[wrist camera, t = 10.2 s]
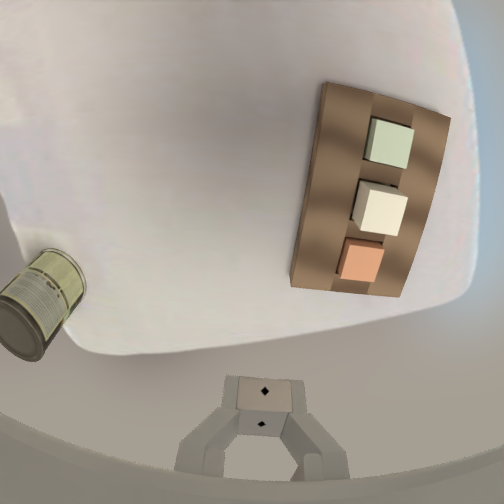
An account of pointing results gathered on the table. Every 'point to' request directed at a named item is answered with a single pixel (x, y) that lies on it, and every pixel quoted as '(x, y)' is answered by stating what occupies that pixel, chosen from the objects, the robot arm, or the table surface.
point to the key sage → (388, 143)
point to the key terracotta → (359, 259)
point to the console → (347, 184)
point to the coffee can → (39, 303)
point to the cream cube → (379, 208)
